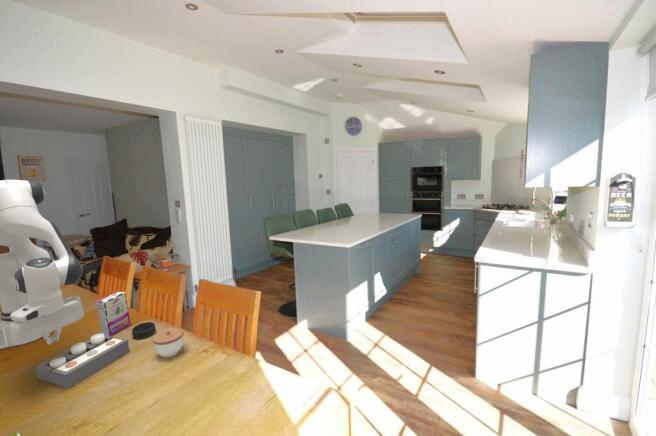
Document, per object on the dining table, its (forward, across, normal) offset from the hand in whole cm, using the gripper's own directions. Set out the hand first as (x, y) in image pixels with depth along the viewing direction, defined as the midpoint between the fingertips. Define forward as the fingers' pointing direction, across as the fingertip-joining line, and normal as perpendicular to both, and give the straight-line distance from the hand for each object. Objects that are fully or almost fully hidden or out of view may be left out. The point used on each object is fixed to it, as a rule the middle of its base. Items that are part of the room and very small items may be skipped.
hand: (53, 342), depth 109 cm
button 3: (+9, -14, +1) cm, 17 cm away
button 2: (+9, -7, +1) cm, 12 cm away
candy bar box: (+13, -29, -10) cm, 33 cm away
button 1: (+11, 0, +1) cm, 11 cm away
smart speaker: (+13, -30, +6) cm, 33 cm away
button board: (+12, -7, +4) cm, 15 cm away
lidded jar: (+12, -22, +29) cm, 38 cm away
